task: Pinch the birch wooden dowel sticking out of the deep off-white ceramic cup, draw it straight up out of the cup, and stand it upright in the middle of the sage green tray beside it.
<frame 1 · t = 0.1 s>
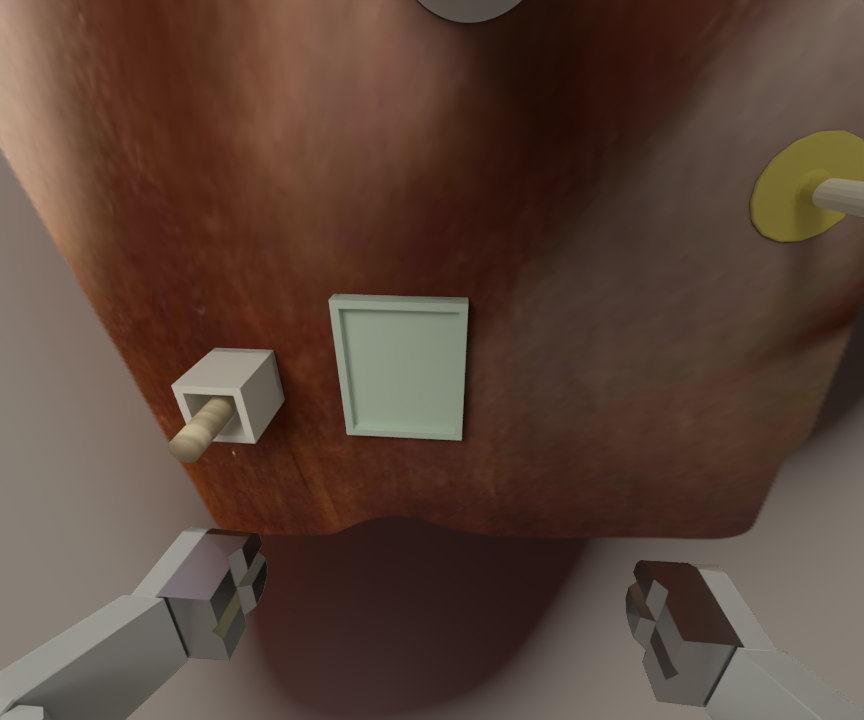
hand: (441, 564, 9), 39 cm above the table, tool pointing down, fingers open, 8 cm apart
dowel: (247, 378, 54), point 1 cm above the table, touching cup
tray: (403, 368, 52), on the table
cup: (250, 374, 55), on the table
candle: (805, 189, 39), on the table
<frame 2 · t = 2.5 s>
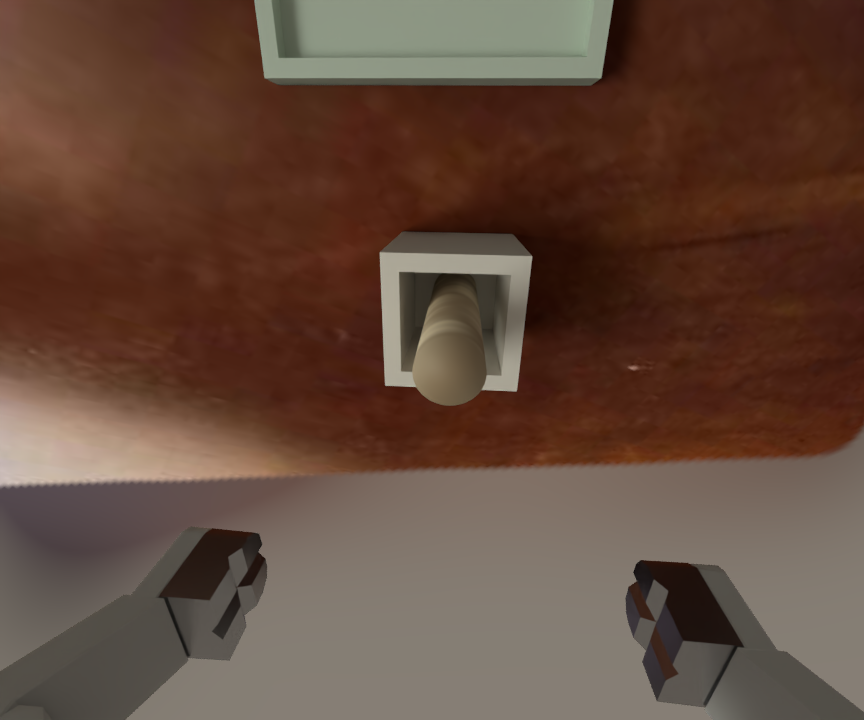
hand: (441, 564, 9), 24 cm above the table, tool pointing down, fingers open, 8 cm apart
dowel: (454, 290, 30), point 1 cm above the table, touching cup
cup: (455, 286, 31), on the table
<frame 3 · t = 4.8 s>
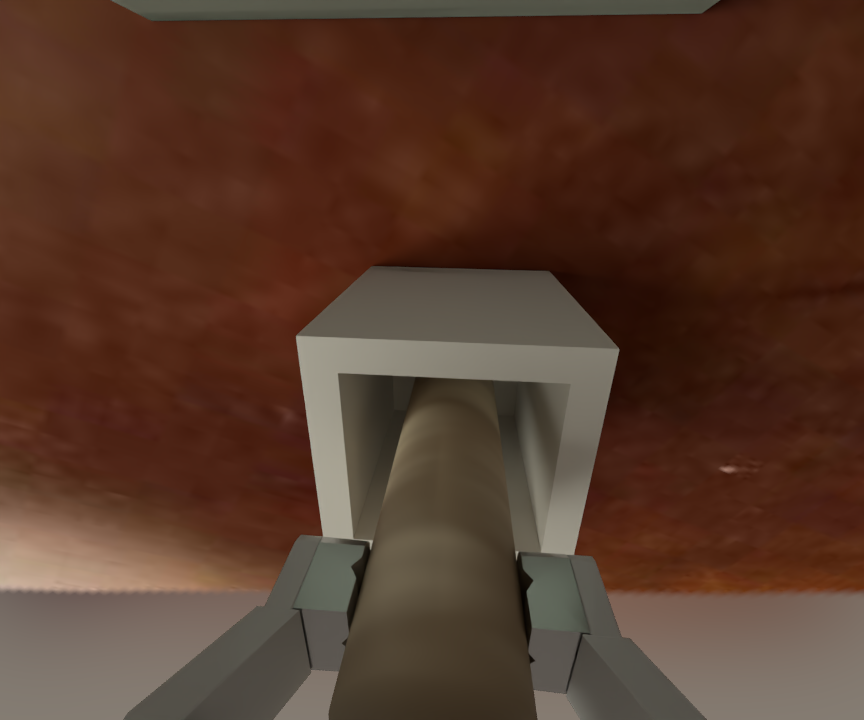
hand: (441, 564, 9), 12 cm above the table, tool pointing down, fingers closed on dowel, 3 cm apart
dowel: (455, 358, 19), point 1 cm above the table, touching cup, gripper
cup: (455, 350, 20), on the table
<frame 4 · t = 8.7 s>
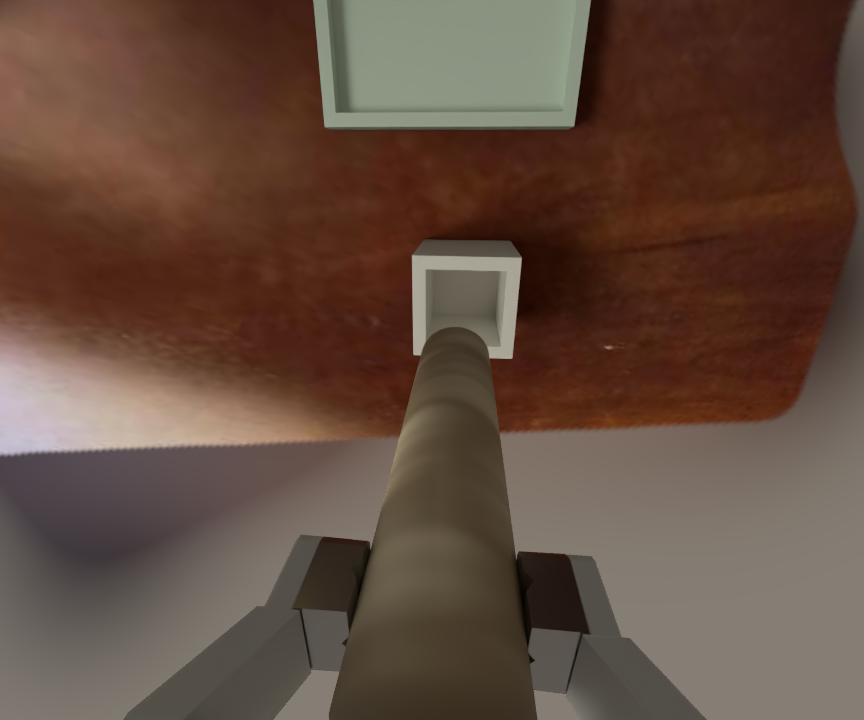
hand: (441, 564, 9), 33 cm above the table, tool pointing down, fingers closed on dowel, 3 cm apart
dowel: (455, 358, 19), point 22 cm above the table, touching gripper
tray: (450, 9, 31), on the table
cup: (465, 282, 39), on the table
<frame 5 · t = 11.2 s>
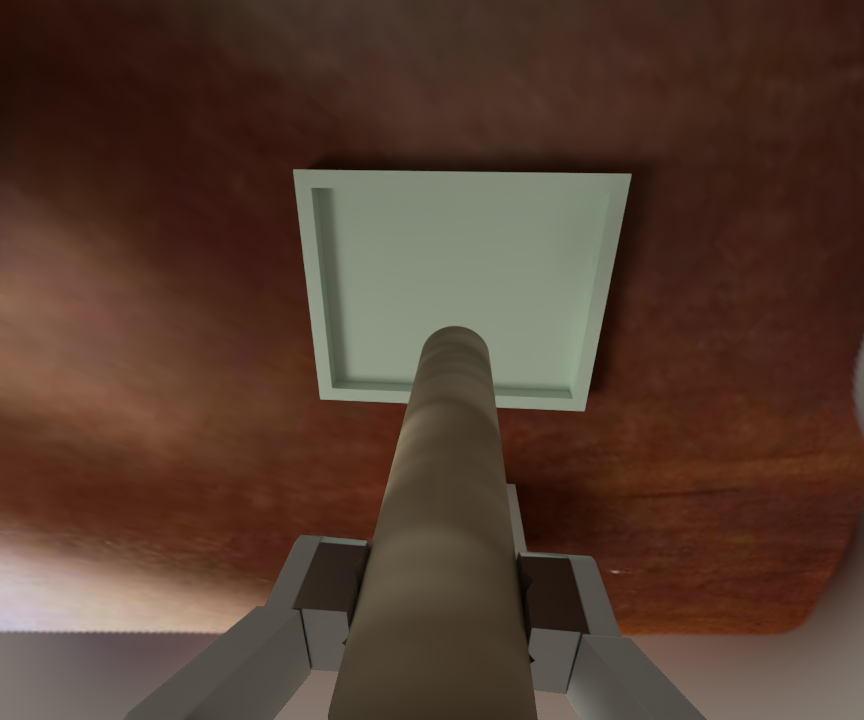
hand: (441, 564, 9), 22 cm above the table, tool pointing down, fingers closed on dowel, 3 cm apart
dowel: (454, 358, 19), point 11 cm above the table, touching gripper
tray: (454, 294, 29), on the table
cup: (467, 515, 37), on the table
when the fingers open (13 cm above the table, at t = 13.1 s): dowel drops 1 cm, resting on tray.
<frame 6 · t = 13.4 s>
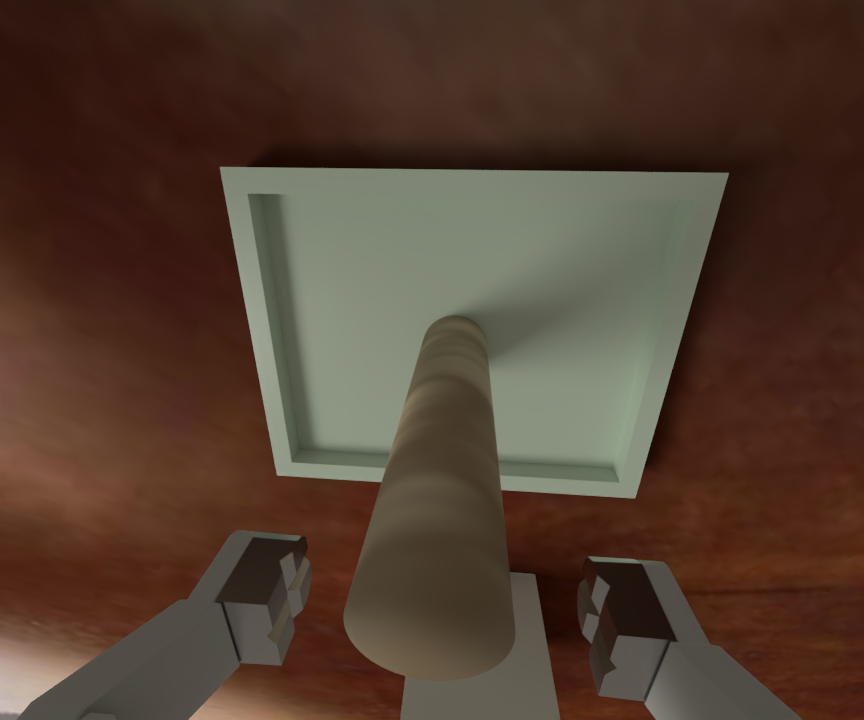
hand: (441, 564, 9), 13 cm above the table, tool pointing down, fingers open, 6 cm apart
dowel: (454, 345, 20), point 1 cm above the table, touching tray
tray: (456, 340, 21), on the table
cup: (473, 607, 29), on the table
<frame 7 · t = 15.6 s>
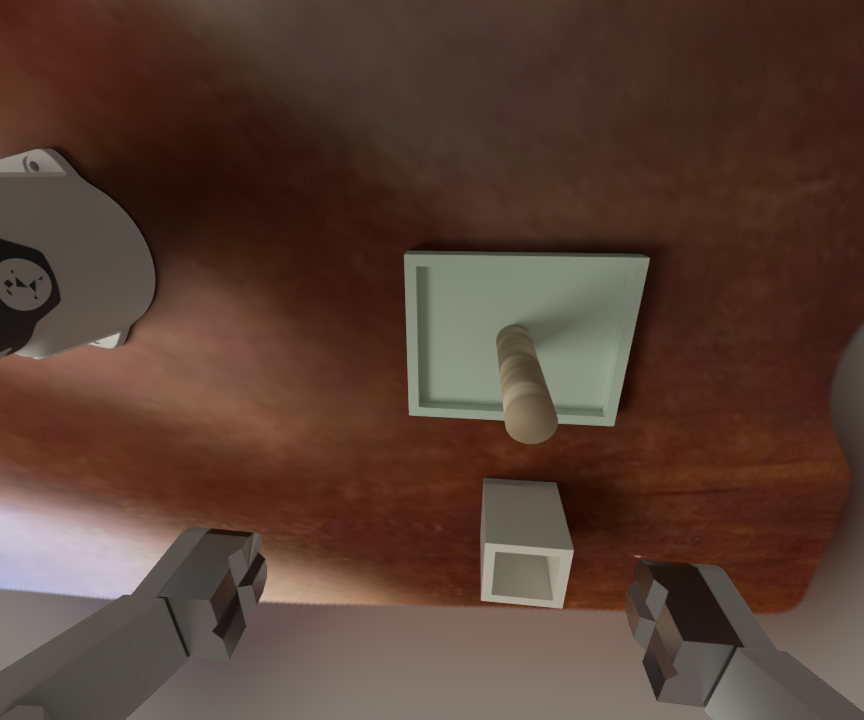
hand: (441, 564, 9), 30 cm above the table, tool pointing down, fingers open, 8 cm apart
dowel: (513, 340, 37), point 1 cm above the table, touching tray
tray: (513, 337, 38), on the table
cup: (516, 507, 47), on the table
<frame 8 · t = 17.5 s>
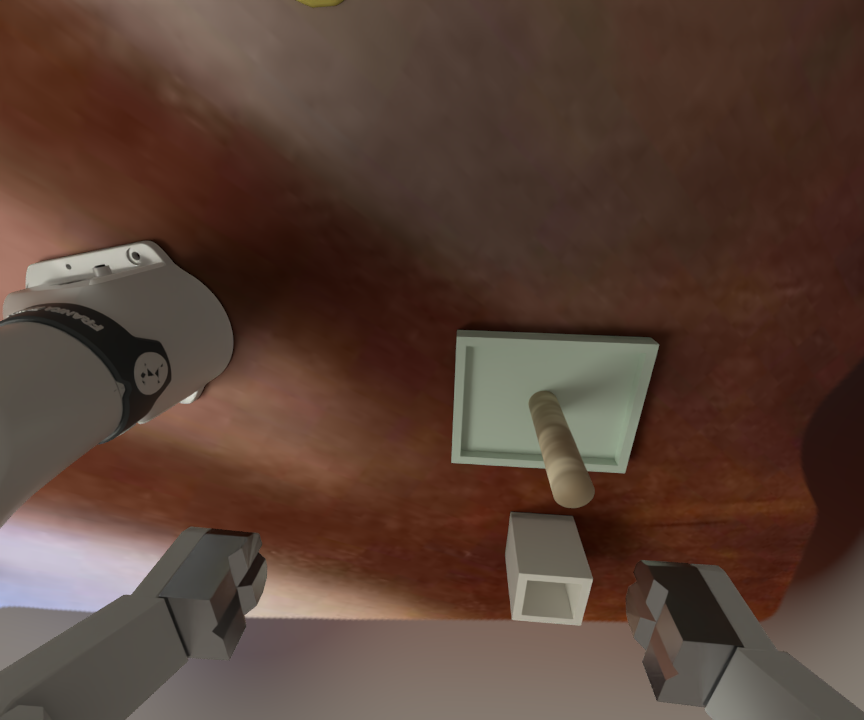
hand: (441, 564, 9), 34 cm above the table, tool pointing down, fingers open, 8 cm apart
dowel: (543, 403, 45), point 1 cm above the table, touching tray
tray: (542, 399, 45), on the table
cup: (537, 536, 54), on the table
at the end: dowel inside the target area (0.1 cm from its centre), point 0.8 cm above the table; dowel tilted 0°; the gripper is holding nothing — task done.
